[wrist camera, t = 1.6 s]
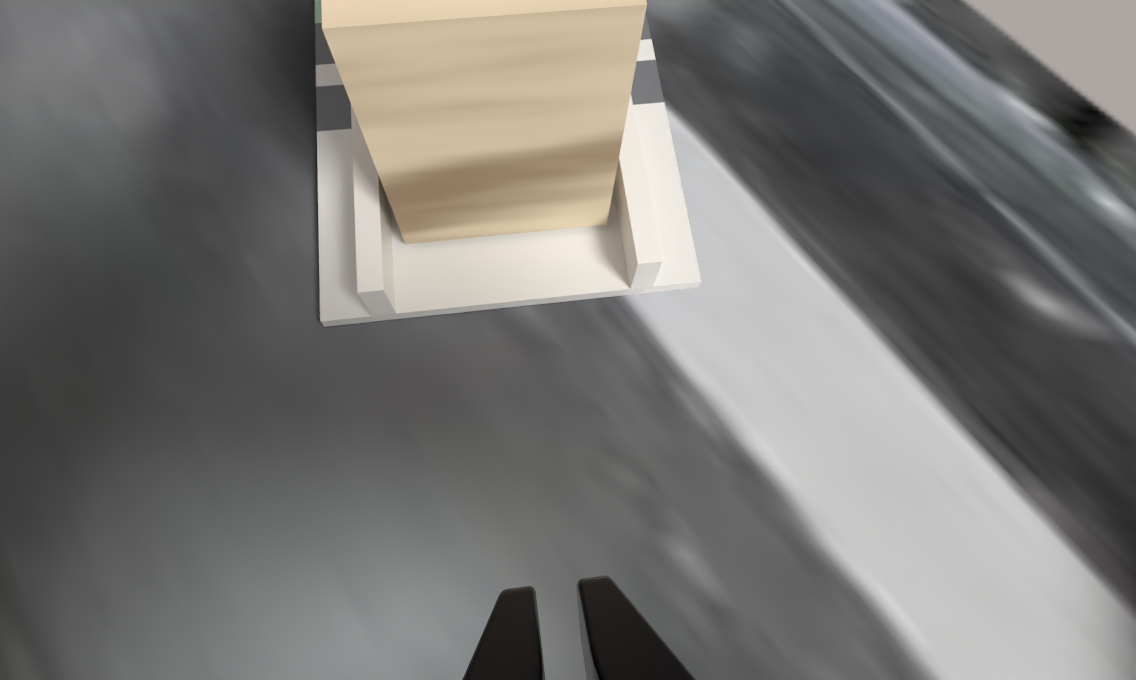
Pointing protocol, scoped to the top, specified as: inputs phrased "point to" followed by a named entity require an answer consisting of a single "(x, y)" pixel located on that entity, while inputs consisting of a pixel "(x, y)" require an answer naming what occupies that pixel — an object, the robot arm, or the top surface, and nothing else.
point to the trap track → (502, 262)
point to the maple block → (489, 107)
